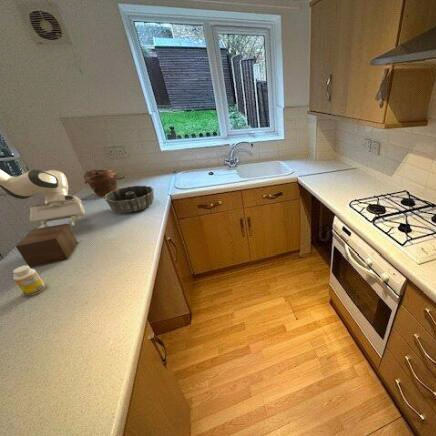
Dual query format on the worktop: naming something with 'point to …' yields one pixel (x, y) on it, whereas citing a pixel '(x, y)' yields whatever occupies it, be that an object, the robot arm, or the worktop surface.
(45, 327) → the worktop surface
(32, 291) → the supplement bottle
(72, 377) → the worktop surface
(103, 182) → the terracotta flower pot
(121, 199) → the bundt pan
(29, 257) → the brown box
